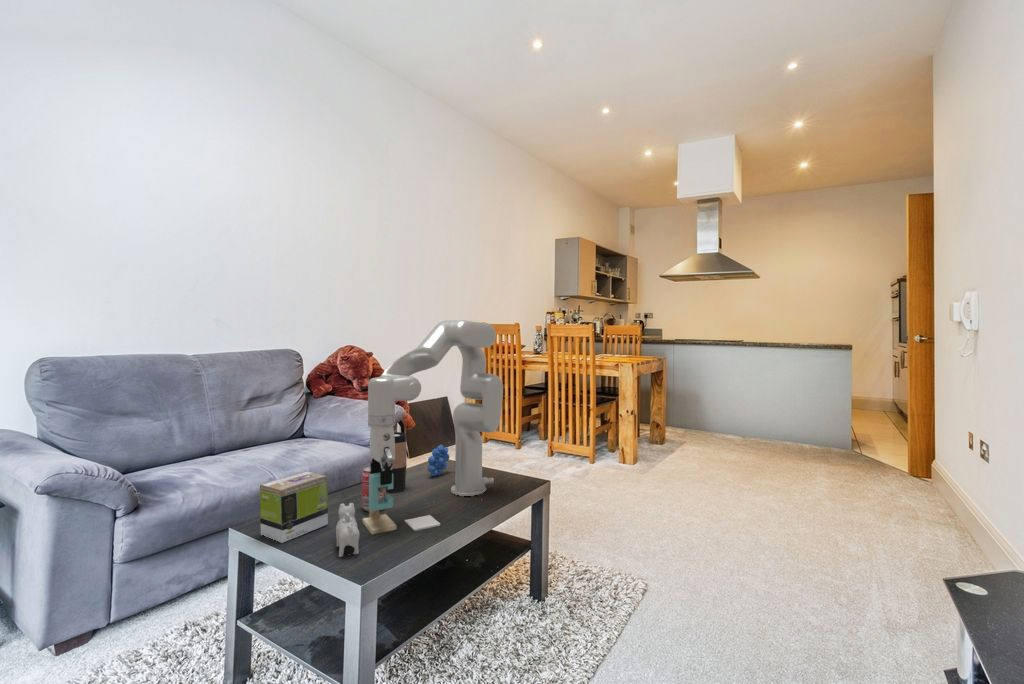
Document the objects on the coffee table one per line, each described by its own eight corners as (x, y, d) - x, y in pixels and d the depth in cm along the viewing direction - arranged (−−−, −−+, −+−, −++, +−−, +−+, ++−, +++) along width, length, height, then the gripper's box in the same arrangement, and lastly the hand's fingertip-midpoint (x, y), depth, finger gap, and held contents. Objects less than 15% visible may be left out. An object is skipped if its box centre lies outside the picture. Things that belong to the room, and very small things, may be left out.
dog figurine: (354, 536, 134) (354, 498, 134) (361, 555, 123) (361, 513, 123) (333, 539, 132) (333, 500, 132) (339, 559, 120) (339, 516, 120)
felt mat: (429, 516, 149) (429, 515, 149) (440, 525, 142) (440, 523, 142) (404, 521, 145) (404, 520, 145) (414, 531, 138) (414, 529, 138)
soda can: (378, 513, 151) (378, 472, 151) (357, 511, 153) (357, 470, 152) (388, 505, 158) (389, 466, 158) (368, 503, 160) (368, 464, 159)
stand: (385, 517, 148) (385, 477, 148) (396, 529, 139) (396, 486, 139) (362, 521, 144) (362, 480, 144) (372, 534, 135) (372, 490, 135)
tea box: (306, 518, 147) (306, 470, 146) (328, 525, 142) (328, 475, 141) (258, 536, 134) (259, 482, 133) (281, 544, 129) (281, 489, 128)
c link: (389, 503, 143) (389, 471, 143) (393, 507, 140) (393, 474, 140) (368, 507, 140) (369, 474, 140) (372, 511, 137) (372, 477, 137)
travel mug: (380, 489, 175) (380, 433, 174) (399, 484, 180) (399, 431, 179) (390, 494, 169) (390, 437, 169) (409, 489, 174) (410, 434, 174)
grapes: (440, 470, 199) (440, 441, 199) (453, 473, 195) (453, 443, 195) (420, 477, 190) (420, 446, 190) (432, 480, 186) (433, 449, 186)
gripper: (404, 424, 134) (403, 485, 134) (385, 415, 149) (384, 470, 149) (377, 426, 130) (376, 490, 130) (360, 417, 145) (359, 474, 145)
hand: (380, 479), depth 140 cm, fingers open, 9 cm apart
